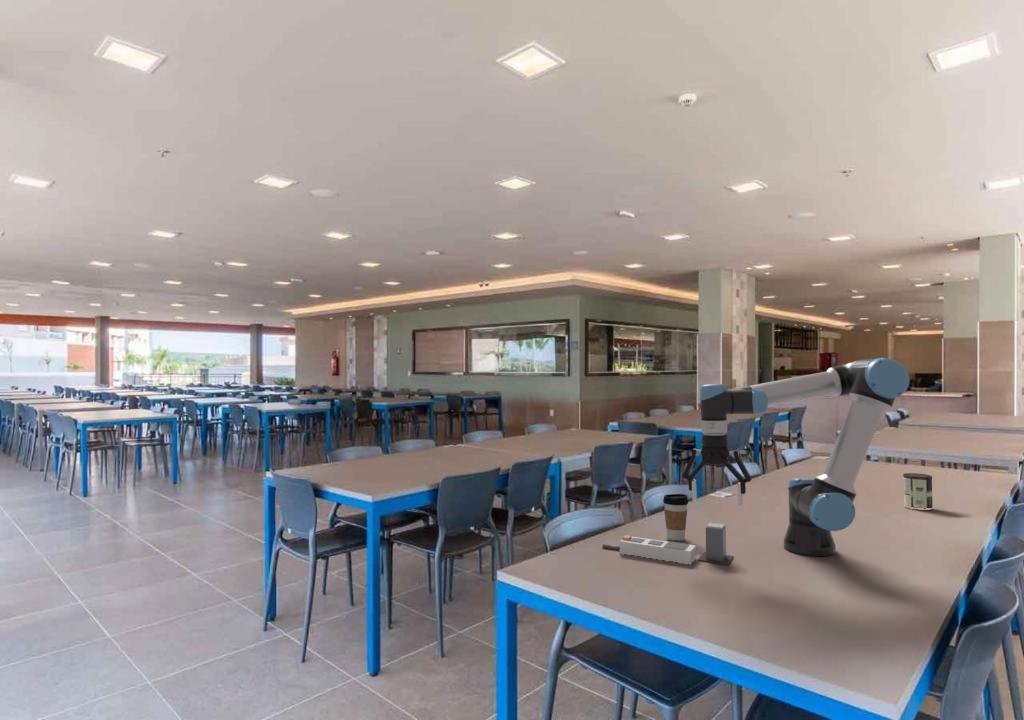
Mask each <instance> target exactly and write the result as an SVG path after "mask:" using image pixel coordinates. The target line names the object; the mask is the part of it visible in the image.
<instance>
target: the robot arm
mask: <svg viewBox="0 0 1024 720" xmlns="http://www.w3.org/2000/svg"><path fill="white" fill-rule="evenodd" d="M909 385H910V377H909V372H908V371H907V368H905V366H904V365H903V364H902V363H901V362H899V361H898V360H895V359H893V358H888V357H877V358H862V359H857V360H854V361H851V362H847V363H844V364H840V365H836V366H832V367H828V369H826V371H823V372H822V371H820V372H816V373H811V374H806V375H801V376H795V377H789V378H785V379H784V378H783V379H779V380H773V381H768V382H762V383H759V384H752V385H748V386H743V387H736V388H735V387H732V388H728V389H727V388H726V385H725V384H723V383H720V384H718V383H716V384H713V383H712V384H711V383H710V384H702V385H701V387H700V392H699V393H700V394H699V395H700V396H699V397H700V398H699V400H700V403H699V404H700V416H701V417H700V418H701V419H700V420H701V433H702V435H701V445H702V446H701V449H697V448H693V449H692V450H691V456H690V458H689V461H688V463H687V464H686V466H685V469H684V470H683V472H682V478H683V479H685V480H687V482H688V490H689V491H691V496H692V503H696V502H697V501H698V499H697V498H698V497H697V495H698V494H697V479H695V477H697V475H698V474H699V473H700V472H701V470H702V469H703V468H704V467H705V465H707V464H709V465H717V466H719V465H722V464H723V465H724V466H725V467H726V468H727V469H728V470H729V472H730V473H731V474H732V475H733V476H734V477H735V478H736V479H737V481H738V483H737V499H738V500H737V503H738V506H740V507H741V506H742V505H743V495H745V494H746V489H747V487H746V483H750V482H751V481H752V476H751V475H750V473H749V471H748V469H747V467H746V466H745V463H744V462H743V460H742V458H741V455H740V451H739V450H738V449H736V450H729V444H728V443H729V442H728V435H727V433H728V421H727V420H728V419H727V415H759V414H760V415H761V414H765V413H766V412H767V410H768V407H769V406H773V405H774V406H775V405H779V404H785V403H790V402H796V401H803V400H809V399H813V398H818V397H819V398H820V397H825V396H831V395H832V396H834V397H841V396H849V398H850V400H851V403H850V405H849V408H848V411H847V413H846V416H845V418H844V419H843V422H842V426H841V428H840V430H839V433H838V435H837V437H836V440H835V443H834V445H833V448H832V450H831V452H830V455H829V457H828V460H827V462H826V465H825V467H824V470H823V472H822V473H821V474H819V475H817V476H815V477H814V478H812V477H810V478H807V477H805V478H804V477H801V478H800V477H795V478H793V477H792V478H790V479H789V481H788V487H787V490H788V526H787V529H786V532H785V534H784V537H783V548H784V549H785V550H787V551H789V552H791V553H795V554H799V555H805V556H810V557H811V556H812V557H828V556H833V554H834V555H835V554H836V552H837V551H836V546H837V545H836V543H835V540H834V537H833V535H832V532H838V531H842V530H845V529H847V528H848V527H849V526H850V525H851V524H852V523H853V522H854V520H855V517H856V507H855V504H854V501H855V498H856V496H857V491H856V489H855V487H854V484H855V482H856V479H857V478H858V475H859V472H860V470H861V467H862V465H863V463H864V460H865V458H866V456H867V453H868V451H869V447H870V446H871V443H872V440H873V438H874V435H875V434H876V431H877V428H878V425H879V423H880V421H881V419H882V416H883V413H885V411H888V410H891V409H892V407H893V405H894V404H895V403H894V402H895V400H896V398H898V397H900V396H902V395H903V394H904V393H905V392H906V391H907V389H908V388H909ZM700 455H701V456H702V458H703V459H702V461H701V462H700V463H699V464H698V466H697V467H695V468H694V470H693V471H692V468H693V466H694V463H695V462H696V459H697V457H699V456H700ZM730 456H731V457H732V458H734V460H735V462H736V465H737V466H738V468H739V470H740V472H741V473H742V474H741V473H740V472H739V471H738V470H737V468H736V467H735V466H734V465H733V464H732V463H731V461H730V460H729V459H728V457H730ZM690 471H692V472H691V474H690Z"/></svg>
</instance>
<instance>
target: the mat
mask: <svg viewBox="0 0 1024 720" xmlns="http://www.w3.org/2000/svg"><path fill="white" fill-rule="evenodd" d="M734 557H735V555H730V554H729V555H728V554H726V557H725V559H724V561H718V560H711V559H706V551H703V552H702V554H700V556H699V557H698V559H697V562H702V561H703V563H709V564H710V563H711V564H717V565H722V564H724V566H730V564H731V563H732V561H733V559H734ZM730 562H731V563H730Z"/></svg>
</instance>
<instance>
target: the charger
mask: <svg viewBox="0 0 1024 720" xmlns="http://www.w3.org/2000/svg"><path fill="white" fill-rule="evenodd" d="M726 527H727V526H726V524H724V523H715V522H708V523H707V524H706V527H705V552H706V559H711V560H718V561H724V559H725V557H726V555H727V542H726V541H727V536H726V533H727V531H726V530H727V529H726Z"/></svg>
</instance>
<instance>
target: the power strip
mask: <svg viewBox="0 0 1024 720" xmlns="http://www.w3.org/2000/svg"><path fill="white" fill-rule="evenodd" d="M606 548H609V549H608V550H613V549H616V550H615V551H619V550H620V551H619V554H620V553H622V554H621V555H624V554H629V555H628V556H630V555H635V556H634V557H637V556H641V557H640V558H643V557H646V558H645V559H649V558H653V559H652V560H656V559H658V560H657V561H662V560H665V561H664V562H669V561H673V562H672V563H675V562H678V563H677V564H682V563H683V564H682V565H688V564H689V566H690V565H692V564H693V563H694V562H695V560H696V558H697V551H696V550H697V546H696V544H695V545H694V544H690V543H683V542H678V541H666V540H660V539H651V538H646V537H645V538H644V537H638V536H637V537H636V536H632V535H627V534H625V535H624V536H622V539H621V540H620V541H619V546H618V545H611V544H602V549H606ZM692 562H693V563H692Z"/></svg>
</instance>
